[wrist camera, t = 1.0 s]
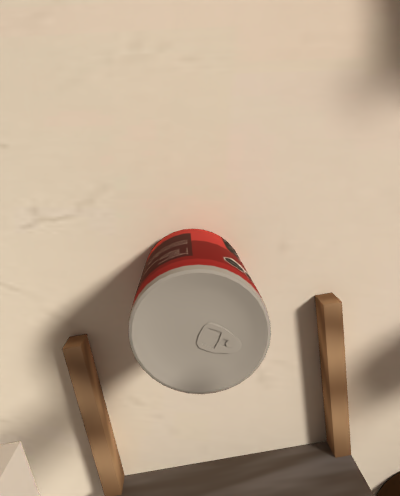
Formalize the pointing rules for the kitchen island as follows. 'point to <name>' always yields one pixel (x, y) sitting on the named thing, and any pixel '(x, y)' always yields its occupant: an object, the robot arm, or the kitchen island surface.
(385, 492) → the olive oil
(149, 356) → the canned food
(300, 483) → the guide lane
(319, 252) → the kitchen island surface
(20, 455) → the robot arm
